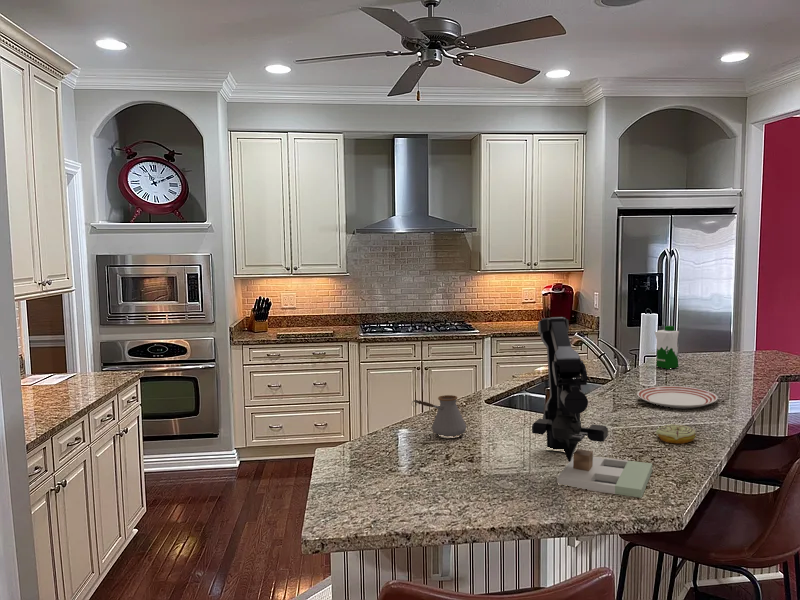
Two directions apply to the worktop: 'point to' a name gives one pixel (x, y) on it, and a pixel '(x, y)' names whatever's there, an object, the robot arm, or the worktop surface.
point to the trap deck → (609, 476)
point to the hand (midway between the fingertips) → (569, 461)
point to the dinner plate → (677, 396)
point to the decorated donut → (676, 433)
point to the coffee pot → (447, 416)
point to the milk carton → (667, 347)
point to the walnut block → (583, 459)
